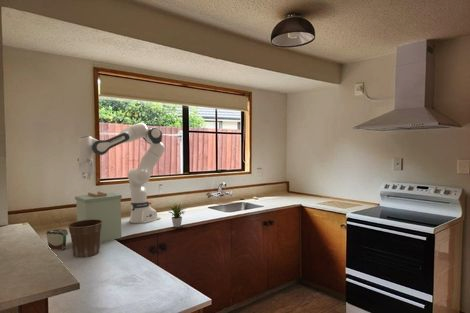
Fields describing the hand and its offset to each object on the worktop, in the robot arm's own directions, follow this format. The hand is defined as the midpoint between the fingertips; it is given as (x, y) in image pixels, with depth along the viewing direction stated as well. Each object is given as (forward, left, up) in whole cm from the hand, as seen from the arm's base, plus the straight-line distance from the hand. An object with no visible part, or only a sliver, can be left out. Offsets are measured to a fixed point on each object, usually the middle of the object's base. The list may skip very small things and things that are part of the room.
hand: (86, 178), depth 216 cm
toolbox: (+6, +38, -33) cm, 51 cm away
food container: (+28, +40, -33) cm, 59 cm away
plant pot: (+21, +60, -33) cm, 72 cm away
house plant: (-42, +49, -33) cm, 73 cm away
